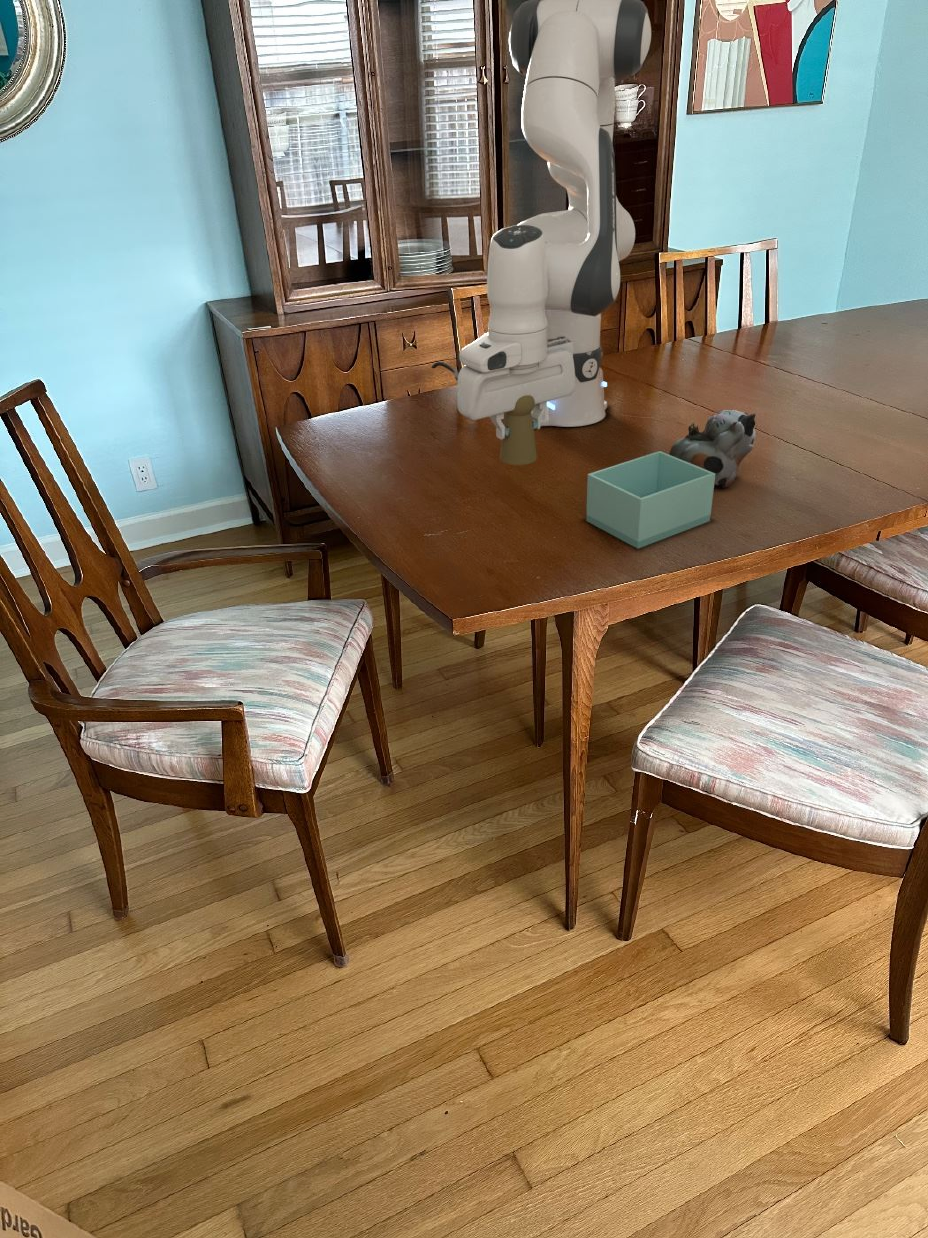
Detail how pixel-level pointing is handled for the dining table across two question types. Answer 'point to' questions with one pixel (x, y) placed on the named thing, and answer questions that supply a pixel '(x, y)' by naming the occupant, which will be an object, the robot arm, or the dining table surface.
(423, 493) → the dining table surface
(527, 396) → the cork
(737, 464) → the lucky cat figurine
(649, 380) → the dining table surface
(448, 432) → the dining table surface
